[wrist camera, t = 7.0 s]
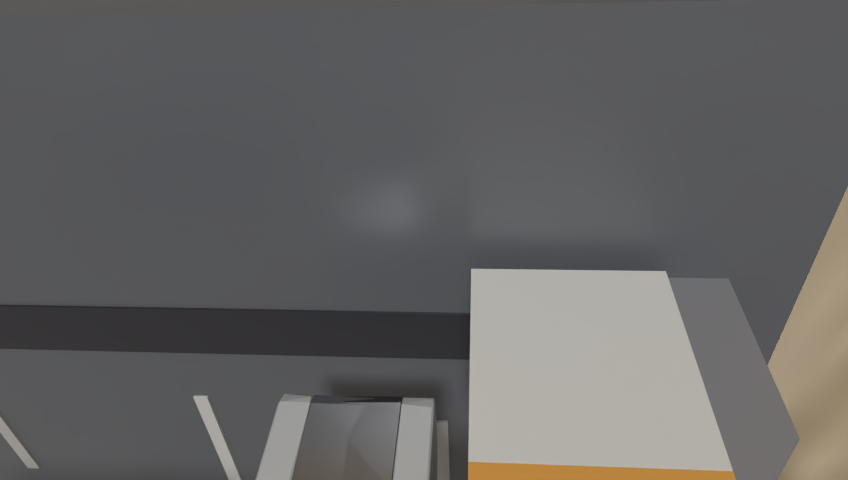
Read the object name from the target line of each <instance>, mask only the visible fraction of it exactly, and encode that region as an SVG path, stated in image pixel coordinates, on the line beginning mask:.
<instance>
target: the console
mask: <svg viewBox="0 0 848 480" xmlns="http://www.w3.org/2000/svg"><path fill="white" fill-rule="evenodd" d="M847 186H848V0H0V480H256V476H257V473H258V470H259V466H260V463H261V459H262V456H263V453H264V449H265V446H266V443H267V439H268V436H269V432H270V429H271V426H272V422H273V419H274V416H275V412H276V409H277V405H278V403H279V401H280V400H281V398H282V396H283V395H284V394H307V395H326V396H398V397H403V398H435V401H436V420H437V480H468V444H469V377H470V310H471V269H535V270H617V271H666V273H667V276H668V279H669V282H670V285H671V288H672V291H673V294H674V297H675V300H676V303H677V306H678V309H679V312H680V315H681V318H682V321H683V324H684V327H685V330H686V332H687V335H688V338H689V341H690V344H691V347H692V350H693V353H694V356H695V359H696V362H697V365H698V368H699V371H700V374H701V377H702V380H703V383H704V386H705V389H706V392H707V395H708V398H709V401H710V404H711V407H712V410H713V413H714V416H715V419H716V422H717V425H718V428H719V431H720V434H721V437H722V440H723V443H724V446H725V449H726V452H727V455H728V457H729V460H730V463H731V466H732V469H733V472H734V475H735V478H736V480H777V479H778V477H779V475H780V473H781V472H782V470H783V468H784V466H785V464H786V463H787V461H788V459H789V457H790V455H791V454H792V452H793V450H794V448H795V447H796V445H797V443H798V441H799V439H800V438H799V436H798V434H797V432H796V429H795V427H794V425H793V423H792V420H791V418H790V416H789V414H788V411H787V409H786V407H785V404H784V402H783V400H782V398H781V395H780V393H779V391H778V389H777V386H776V384H775V382H774V380H773V377H772V375H771V373H770V371H769V368H768V366H767V364H768V362H769V360H770V358H771V355H772V353H773V351H774V349H775V347H776V344H777V342H778V340H779V338H780V335H781V333H782V331H783V329H784V327H785V324H786V322H787V320H788V318H789V315H790V313H791V311H792V309H793V306H794V304H795V302H796V300H797V298H798V295H799V293H800V291H801V289H802V286H803V284H804V282H805V280H806V278H807V275H808V273H809V271H810V269H811V266H812V264H813V262H814V260H815V258H816V255H817V253H818V251H819V249H820V246H821V244H822V242H823V240H824V237H825V235H826V233H827V231H828V229H829V226H830V224H831V222H832V220H833V217H834V215H835V213H836V211H837V209H838V206H839V204H840V202H841V200H842V197H843V195H844V193H845V191H846V188H847Z"/></svg>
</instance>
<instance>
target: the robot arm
mask: <svg viewBox="0 0 848 480" xmlns="http://www.w3.org/2000/svg"><path fill="white" fill-rule="evenodd" d="M256 480H437V420H436V401H435V398H403V397H398V396H326V395H307V394H284V395H283V396H282V398H281V400H280V401H279V403H278V405H277V409H276V412H275V416H274V419H273V422H272V426H271V429H270V432H269V436H268V439H267V443H266V446H265V449H264V453H263V456H262V459H261V463H260V466H259V470H258V473H257V476H256Z"/></svg>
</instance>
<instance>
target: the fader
mask: <svg viewBox="0 0 848 480" xmlns="http://www.w3.org/2000/svg"><path fill="white" fill-rule="evenodd" d="M468 480H736V478H735V475H734V472H733V469H732V466H731V463H730V460H729V457H728V455H727V452H726V449H725V446H724V443H723V440H722V437H721V434H720V431H719V428H718V425H717V422H716V419H715V416H714V413H713V410H712V407H711V404H710V401H709V398H708V395H707V392H706V389H705V386H704V383H703V380H702V377H701V374H700V371H699V368H698V365H697V362H696V359H695V356H694V353H693V350H692V347H691V344H690V341H689V338H688V335H687V332H686V330H685V327H684V324H683V321H682V318H681V315H680V312H679V309H678V306H677V303H676V300H675V297H674V294H673V291H672V288H671V285H670V282H669V279H668V276H667V273H666V271H617V270H535V269H471V310H470V377H469V444H468Z"/></svg>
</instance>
